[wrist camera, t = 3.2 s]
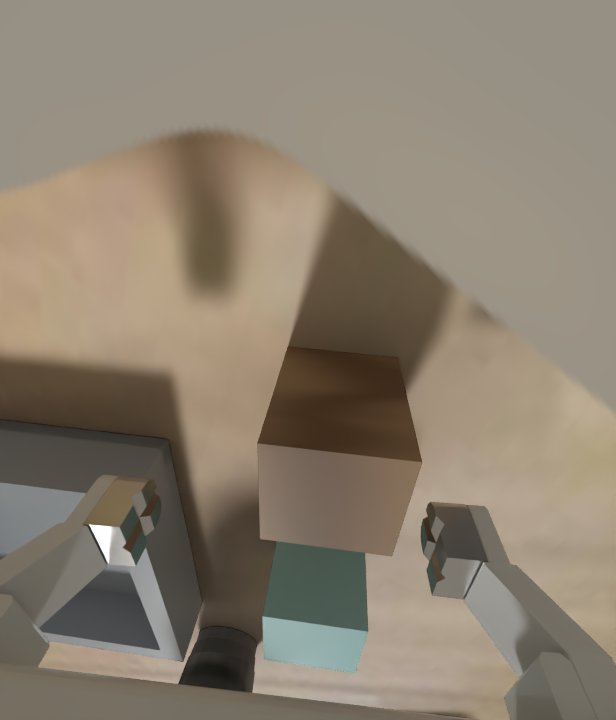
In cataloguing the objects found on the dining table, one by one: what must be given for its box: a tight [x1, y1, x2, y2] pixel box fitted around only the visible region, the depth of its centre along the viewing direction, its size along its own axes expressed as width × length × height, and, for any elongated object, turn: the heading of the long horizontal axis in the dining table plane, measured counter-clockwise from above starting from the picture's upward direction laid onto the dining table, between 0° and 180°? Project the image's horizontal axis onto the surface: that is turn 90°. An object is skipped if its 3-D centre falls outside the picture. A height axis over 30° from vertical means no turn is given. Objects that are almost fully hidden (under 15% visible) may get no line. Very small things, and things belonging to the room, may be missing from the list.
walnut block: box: [257, 347, 422, 556], centre depth 12 cm, size 4×4×5 cm
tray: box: [0, 420, 202, 662], centre depth 19 cm, size 15×15×3 cm
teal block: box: [262, 541, 368, 673], centre depth 16 cm, size 4×4×5 cm
